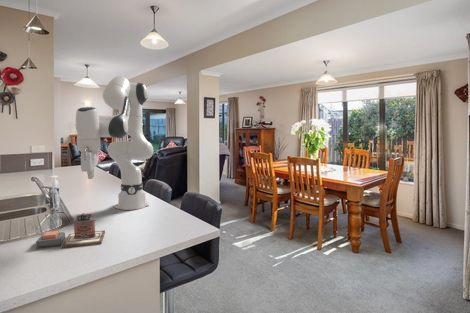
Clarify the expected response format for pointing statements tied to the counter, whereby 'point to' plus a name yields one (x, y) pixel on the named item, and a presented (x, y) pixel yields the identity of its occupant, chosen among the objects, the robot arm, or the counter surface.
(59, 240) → the button housing
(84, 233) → the lighter
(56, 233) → the button
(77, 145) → the robot arm
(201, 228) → the counter surface
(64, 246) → the board
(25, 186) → the counter surface
